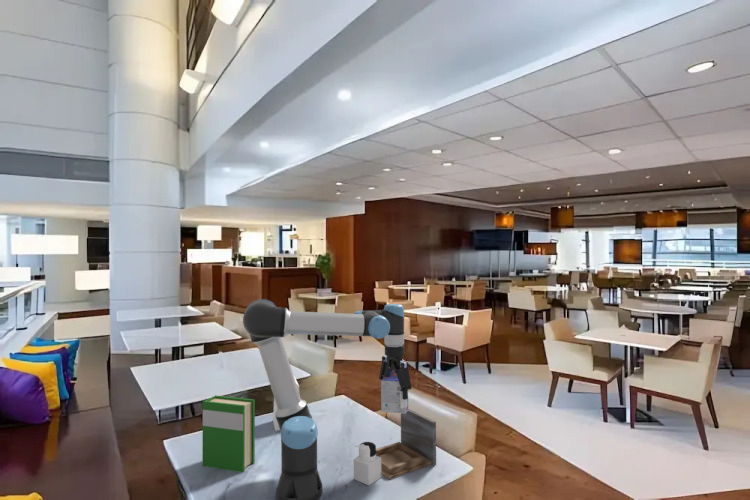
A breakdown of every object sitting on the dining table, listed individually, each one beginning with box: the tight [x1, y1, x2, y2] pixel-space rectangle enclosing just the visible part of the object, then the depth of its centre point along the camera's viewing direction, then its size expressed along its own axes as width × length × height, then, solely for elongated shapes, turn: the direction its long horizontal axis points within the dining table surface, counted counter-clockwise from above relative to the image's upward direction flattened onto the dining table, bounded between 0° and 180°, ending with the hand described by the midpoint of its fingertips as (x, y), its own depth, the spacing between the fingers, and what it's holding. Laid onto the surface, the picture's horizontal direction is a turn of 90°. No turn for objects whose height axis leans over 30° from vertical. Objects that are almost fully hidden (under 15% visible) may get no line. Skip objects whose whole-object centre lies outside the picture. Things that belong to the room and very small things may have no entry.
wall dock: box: [376, 408, 437, 480], centre depth 163 cm, size 21×20×16 cm
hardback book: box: [201, 395, 256, 473], centre depth 161 cm, size 18×7×24 cm, turn 73°
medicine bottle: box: [353, 441, 382, 486], centre depth 150 cm, size 7×7×12 cm
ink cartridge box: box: [380, 370, 409, 414], centre depth 162 cm, size 10×6×14 cm, turn 78°
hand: (394, 403), depth 162 cm, fingers closed on ink cartridge box, 10 cm apart
